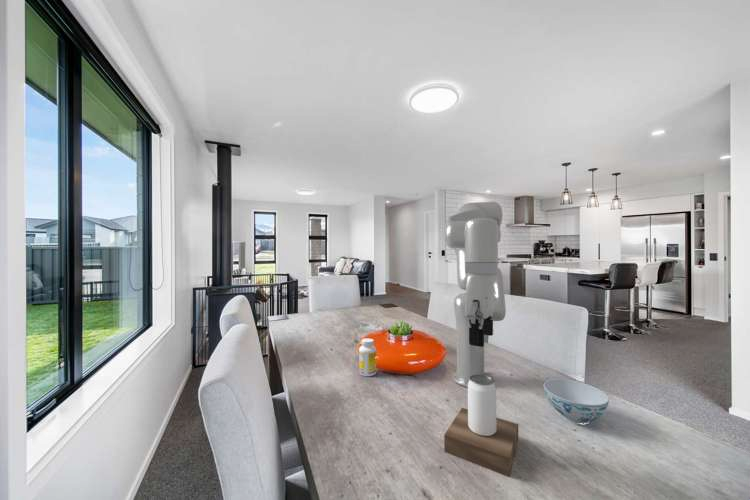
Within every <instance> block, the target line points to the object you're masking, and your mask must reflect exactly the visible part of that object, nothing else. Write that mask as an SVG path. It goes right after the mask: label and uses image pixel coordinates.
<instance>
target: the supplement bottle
mask: <svg viewBox="0 0 750 500" xmlns="http://www.w3.org/2000/svg"><path fill="white" fill-rule="evenodd" d="M358 349H359V350H358V356H359V357H358V360H359V361H358V363H359V364H358V366H359V367H358V369H359V375H361V376H362V377H373V376H375V375H376V374H377V372H378V371H377V368H378V367H376V365H377V362H376V363H375V357H376V358H377V347H376V346H375V345H374V339H373V338H363V339H361V346H360V347H359V348H358Z"/></svg>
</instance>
